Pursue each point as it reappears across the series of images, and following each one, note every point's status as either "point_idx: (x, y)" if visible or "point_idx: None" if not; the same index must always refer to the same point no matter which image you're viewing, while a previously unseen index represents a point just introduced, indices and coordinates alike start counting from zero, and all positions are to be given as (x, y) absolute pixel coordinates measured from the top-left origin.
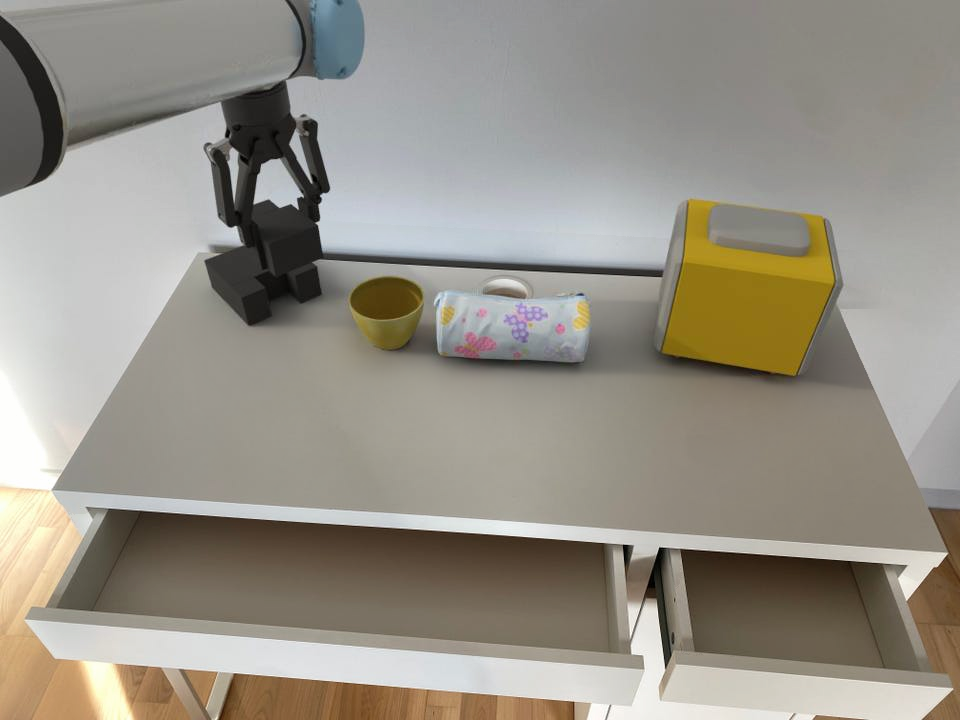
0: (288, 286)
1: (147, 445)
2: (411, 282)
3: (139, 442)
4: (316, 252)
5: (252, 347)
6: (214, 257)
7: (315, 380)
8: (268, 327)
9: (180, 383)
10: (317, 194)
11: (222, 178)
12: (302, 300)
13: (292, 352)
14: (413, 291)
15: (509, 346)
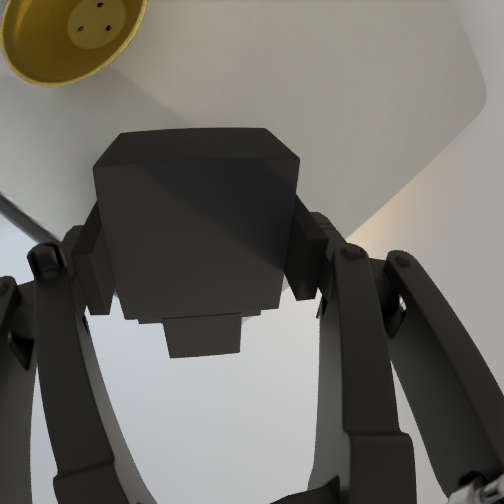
0: None
1: (445, 80)
2: (4, 41)
3: (447, 90)
4: (133, 137)
5: (281, 133)
6: (245, 314)
7: (253, 6)
8: None
9: (382, 136)
10: (35, 279)
11: (500, 397)
12: None
13: (242, 81)
14: (14, 34)
15: None
